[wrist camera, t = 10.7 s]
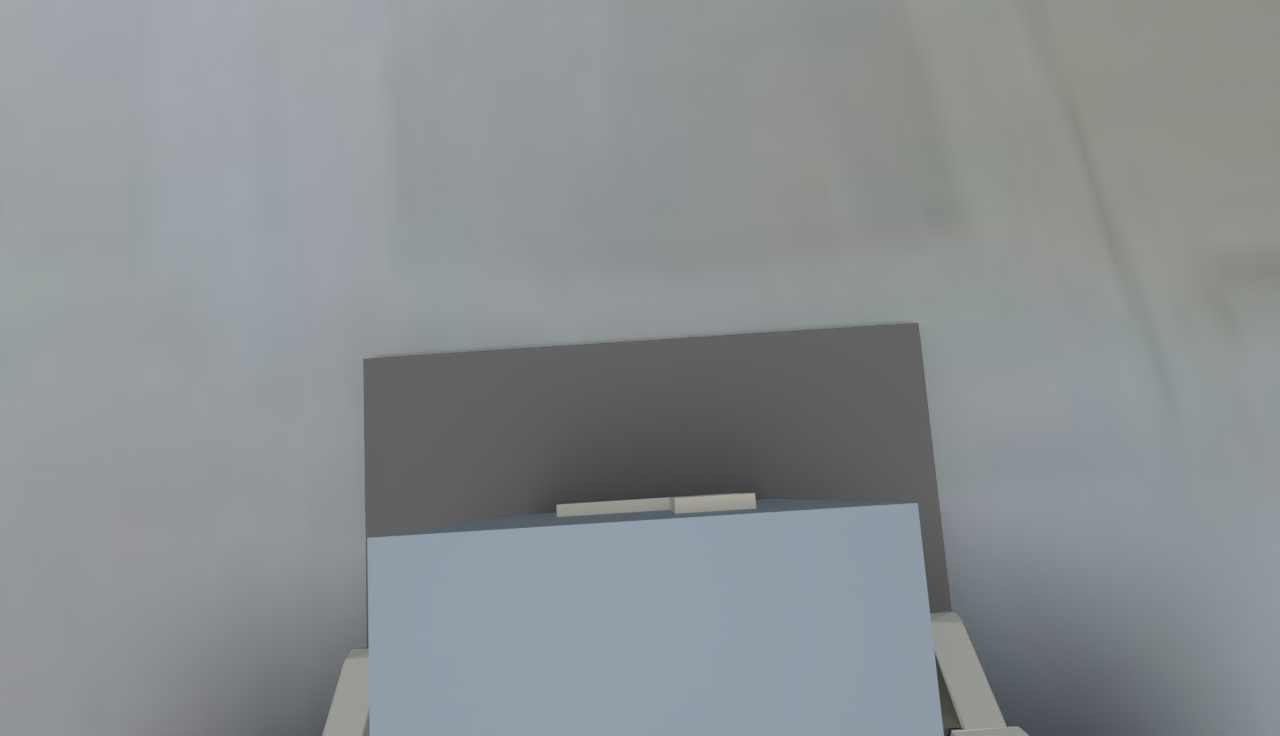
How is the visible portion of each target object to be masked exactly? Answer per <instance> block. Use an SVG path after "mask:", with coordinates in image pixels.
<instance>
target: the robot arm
mask: <svg viewBox="0 0 1280 736" xmlns="http://www.w3.org/2000/svg"><path fill="white" fill-rule="evenodd" d="M930 617H931V626H932V635H933V644H934V652H935V661H936V670H937V679H938V688H939V697H940V706H941V715H942V724H943V732H944V736H1030V735H1028V734H1027V733H1026V732H1025V731H1024V730H1023V729H1021V728H1020V727H1019V726H1007V725H1006V723H1005V720H1004V718H1003V716H1002V713H1001V711H1000V709H999V706H998V704H997V701H996V699H995V697H994V694H993V692H992V690H991V687H990V685H989V683H988V680H987V678H986V675H985V673H984V671H983V668H982V666H981V664H980V661H979V659H978V656H977V654H976V652H975V649H974V647H973V645H972V642H971V640H970V637H969V635H968V633H967V630H966V628H965V626H964V623H963V621H962V619H961V618H960V617H959V616H958V615H957V613H956V612H952V611H948V612H936V613H930ZM322 736H370V714H369V648H360V649H351V651H350V653H349V654H348V656H347V657H346V659H345V661H344V663H343V666H342V669H341V673H340V676H339V680H338V683H337V686H336V690H335V693H334V697H333V700H332V704H331V707H330V710H329V714H328V717H327V721H326V724H325V727H324V731H323V734H322Z"/></svg>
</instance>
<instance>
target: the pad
mask: <svg viewBox="0 0 1280 736" xmlns="http://www.w3.org/2000/svg"><path fill="white" fill-rule="evenodd" d="M363 365H364V438H365V512H366V586H367V648H369V635H368V557H367V538H370V537H376V536H383V535H390V534H396V533H403V532H409V531H416V530H423V529H429V528H436V527H443V526H449V525H456V524H462V523H469V522H476V521H482V520H489V519H496V518H502V517H509V516H515V515H523V514H539V513H554V512H557V507H556V505H559V504H572V503H587V502H603V501H619V500H634V499H650V498H666V497H682V496H697V495H713V494H731V493H755V497H756V500H759V499H806V500H839V501H873V502H906V503H918V510H919V519H920V528H921V537H922V546H923V555H924V564H925V572H926V581H927V590H928V599H929V608H930V613H936V612H948V611H951V604H950V595H949V586H948V578H947V569H946V560H945V552H944V543H943V534H942V525H941V517H940V508H939V499H938V490H937V482H936V473H935V464H934V455H933V447H932V438H931V429H930V421H929V412H928V403H927V394H926V386H925V377H924V368H923V359H922V351H921V342H920V333H919V325H918V323H912V324H897V325H881V326H866V327H850V328H835V329H820V330H804V331H789V332H773V333H758V334H742V335H727V336H711V337H696V338H680V339H665V340H649V341H634V342H618V343H603V344H587V345H572V346H556V347H541V348H525V349H510V350H494V351H479V352H463V353H448V354H432V355H417V356H401V357H386V358H370V359H363Z"/></svg>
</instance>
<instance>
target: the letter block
mask: <svg viewBox="0 0 1280 736" xmlns="http://www.w3.org/2000/svg"><path fill="white" fill-rule="evenodd" d="M556 507H557V512H554V513H539V514H523V515H515V516H509V517H502V518H496V519H489V520H482V521H476V522H469V523H462V524H456V525H449V526H443V527H436V528H429V529H423V530H416V531H409V532H403V533H396V534H390V535H383V536H376V537H370V538H367V557H368V635H369V714H370V736H944V732H943V724H942V715H941V706H940V697H939V688H938V679H937V670H936V661H935V652H934V644H933V635H932V626H931V617H930V608H929V599H928V590H927V581H926V572H925V564H924V555H923V546H922V537H921V528H920V519H919V510H918V503H906V502H873V501H839V500H806V499H759V500H756V497H755V493H731V494H713V495H697V496H682V497H666V498H650V499H634V500H619V501H603V502H587V503H572V504H559V505H556Z"/></svg>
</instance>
